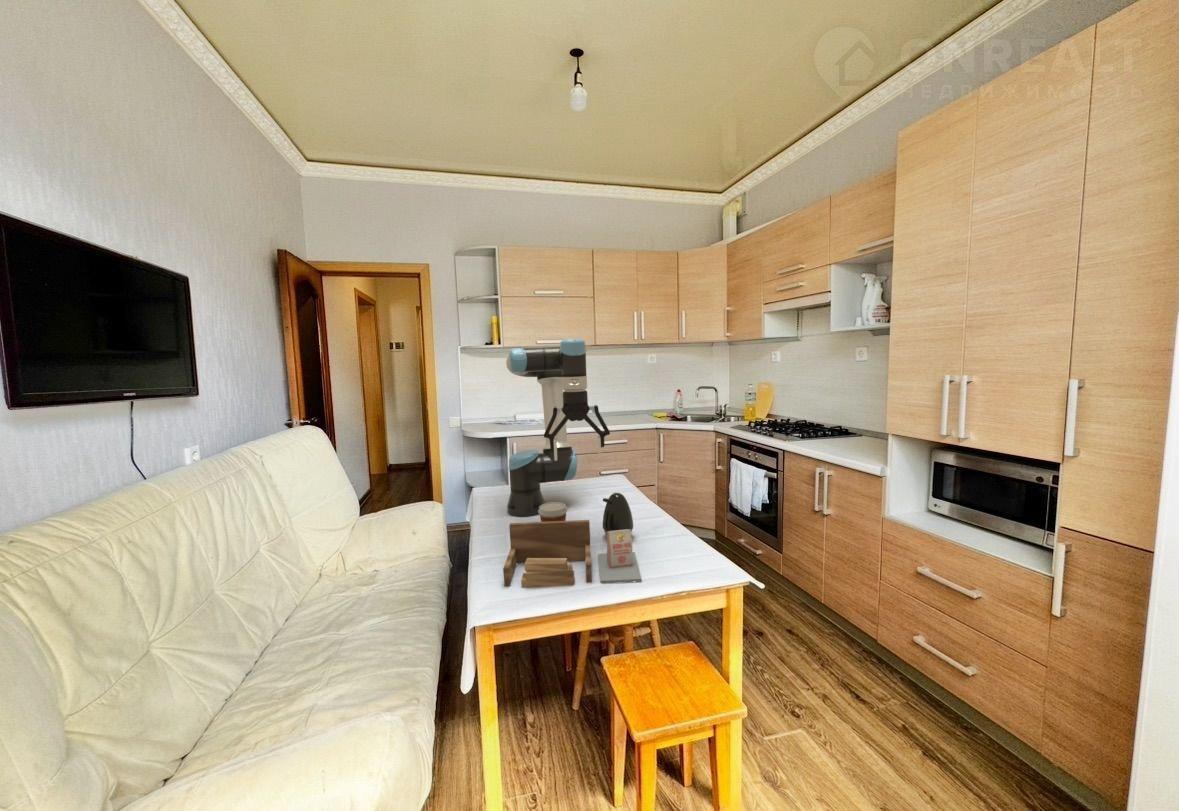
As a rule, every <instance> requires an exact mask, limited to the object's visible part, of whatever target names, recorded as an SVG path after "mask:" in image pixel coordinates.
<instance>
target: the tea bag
mask: <svg viewBox="0 0 1179 811" xmlns="http://www.w3.org/2000/svg"><path fill="white" fill-rule="evenodd" d="M633 552H634V551H633V540H632V532H631V530H630V529H626V530H616V531H607V535H606V553H607V563H608V565H609V568H615V567H624V566H633Z"/></svg>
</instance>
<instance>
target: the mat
mask: <svg viewBox="0 0 1179 811" xmlns="http://www.w3.org/2000/svg"><path fill="white" fill-rule="evenodd" d="M597 555H598V556H597V557H598V567H599V568H598V570H599V582H600V583H604V584H615V583H614V582H626V583H634V582H633V581H642V580H643V579H642V575H641V572H640V568H639V563H638V560H637V555H636V553H635V551H633V566H624V567H615V568H609V565H608V563H607V552H606V553H604V552H603V553H598V554H597Z"/></svg>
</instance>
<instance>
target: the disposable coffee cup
mask: <svg viewBox="0 0 1179 811" xmlns="http://www.w3.org/2000/svg"><path fill="white" fill-rule="evenodd" d="M567 512H568V508H567V506H566V504H565V503H564V502H560V501H550V502H545V504H542V505H541V506H540V507H539V510H538V513H539V514H538V515H539V517H540V518H539V519H540V522H549V521H567V520H566V519H567Z"/></svg>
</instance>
